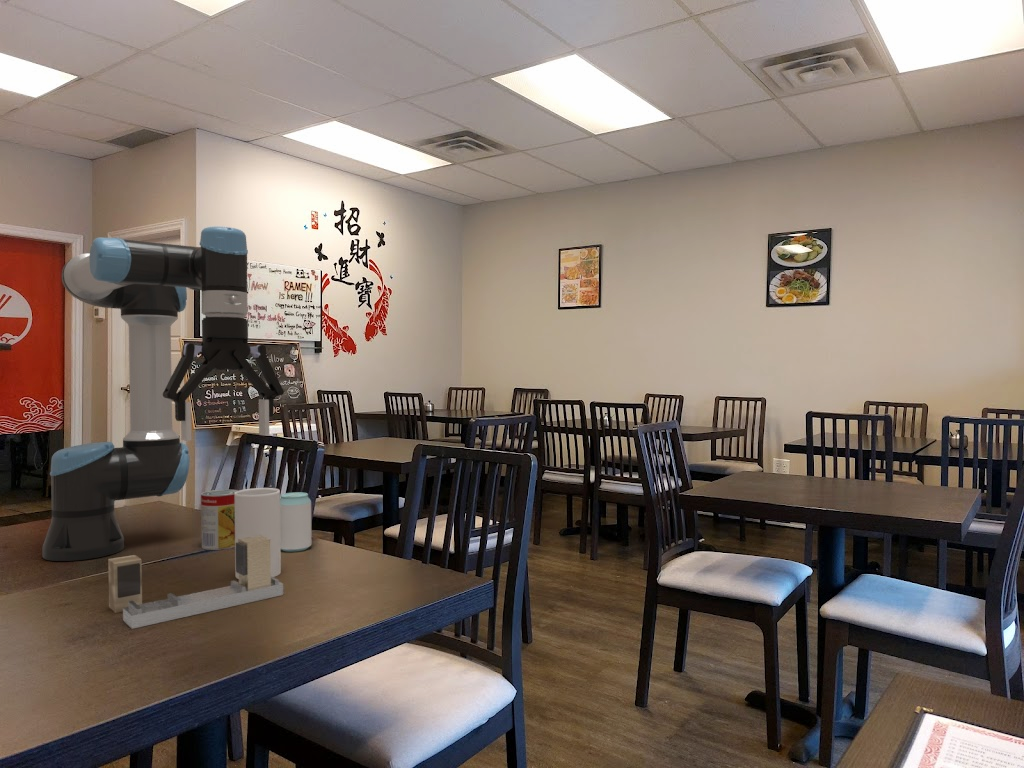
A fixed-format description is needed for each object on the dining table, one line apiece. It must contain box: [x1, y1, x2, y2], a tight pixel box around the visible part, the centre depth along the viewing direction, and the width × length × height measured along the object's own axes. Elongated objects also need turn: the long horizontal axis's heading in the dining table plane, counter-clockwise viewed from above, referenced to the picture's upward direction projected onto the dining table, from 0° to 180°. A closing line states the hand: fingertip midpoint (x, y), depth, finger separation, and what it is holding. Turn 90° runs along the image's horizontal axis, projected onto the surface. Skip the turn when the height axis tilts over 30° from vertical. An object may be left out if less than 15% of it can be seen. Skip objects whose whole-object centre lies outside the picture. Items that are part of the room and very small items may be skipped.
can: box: [280, 491, 313, 553], centre depth 157 cm, size 7×7×12 cm
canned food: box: [200, 488, 239, 551], centre depth 160 cm, size 8×8×12 cm
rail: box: [122, 535, 284, 630], centre depth 118 cm, size 5×24×10 cm, turn 132°
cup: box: [234, 487, 282, 580], centre depth 137 cm, size 8×8×16 cm
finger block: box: [107, 554, 143, 614], centre depth 118 cm, size 5×4×8 cm
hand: (226, 437), depth 126 cm, fingers open, 13 cm apart
